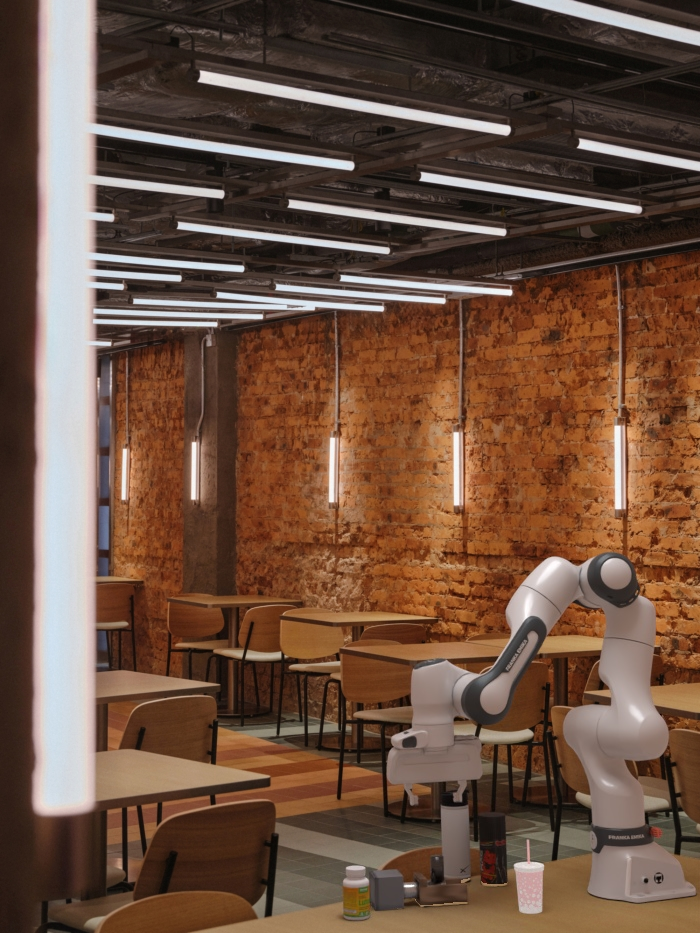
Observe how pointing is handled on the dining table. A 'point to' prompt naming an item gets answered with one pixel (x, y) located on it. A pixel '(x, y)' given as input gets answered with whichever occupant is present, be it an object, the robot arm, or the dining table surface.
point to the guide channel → (440, 891)
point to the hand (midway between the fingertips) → (436, 803)
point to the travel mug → (455, 835)
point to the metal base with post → (436, 879)
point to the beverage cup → (529, 885)
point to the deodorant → (493, 848)
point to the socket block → (386, 889)
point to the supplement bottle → (356, 894)
